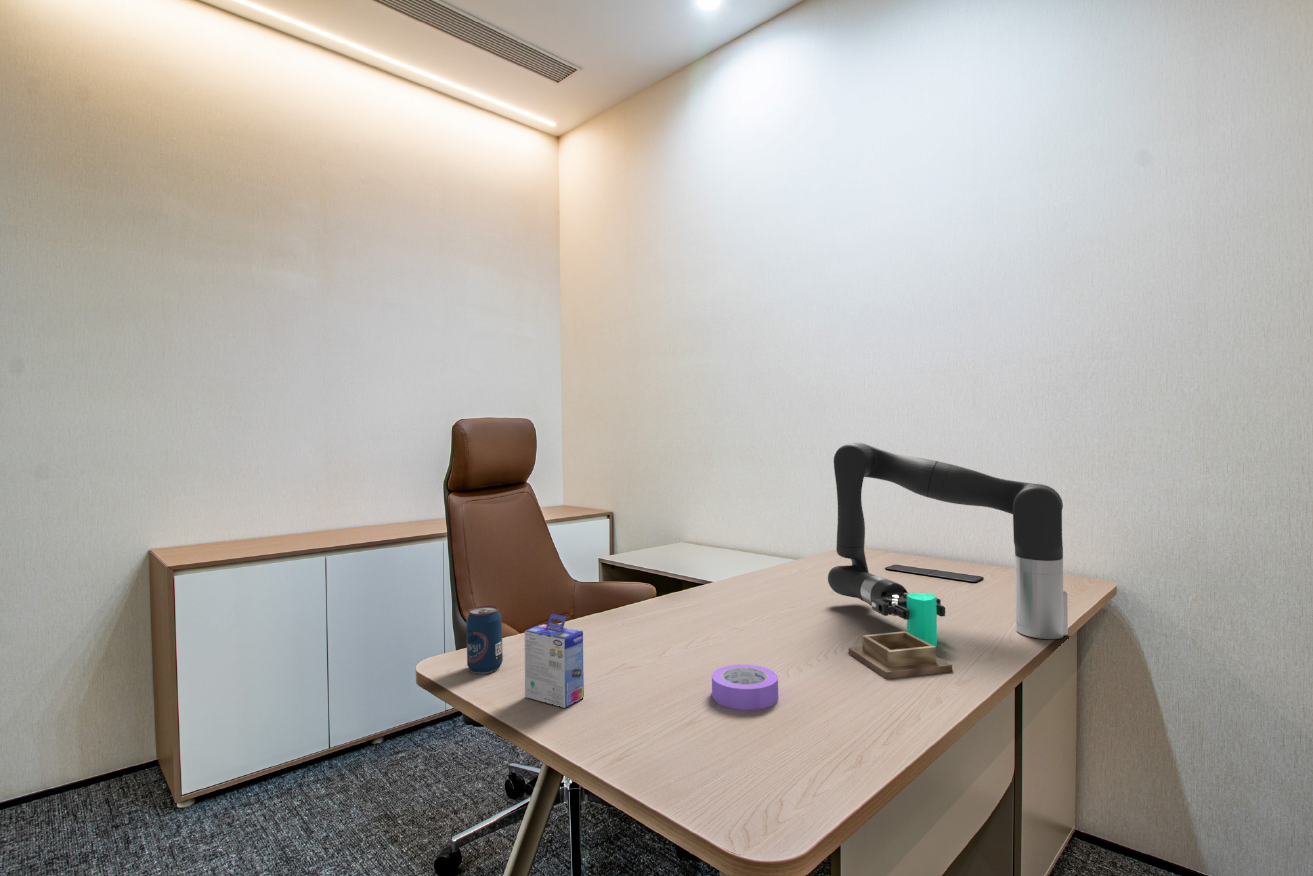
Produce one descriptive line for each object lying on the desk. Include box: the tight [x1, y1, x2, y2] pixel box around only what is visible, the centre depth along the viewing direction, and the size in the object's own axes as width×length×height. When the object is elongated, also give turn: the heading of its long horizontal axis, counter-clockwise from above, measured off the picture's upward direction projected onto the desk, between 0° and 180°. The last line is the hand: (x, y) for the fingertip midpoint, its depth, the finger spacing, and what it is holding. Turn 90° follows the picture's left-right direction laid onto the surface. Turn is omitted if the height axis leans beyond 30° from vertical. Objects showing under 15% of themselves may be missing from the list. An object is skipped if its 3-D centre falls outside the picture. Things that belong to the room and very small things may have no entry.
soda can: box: [465, 605, 504, 675], centre depth 128 cm, size 7×7×12 cm
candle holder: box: [848, 630, 953, 680], centre depth 127 cm, size 14×14×4 cm
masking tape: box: [711, 663, 779, 711], centre depth 113 cm, size 12×12×4 cm
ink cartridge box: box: [524, 613, 585, 709], centre depth 114 cm, size 10×6×14 cm, turn 58°
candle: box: [906, 588, 938, 648], centre depth 137 cm, size 6×6×12 cm
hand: (926, 613), depth 136 cm, fingers open, 8 cm apart
